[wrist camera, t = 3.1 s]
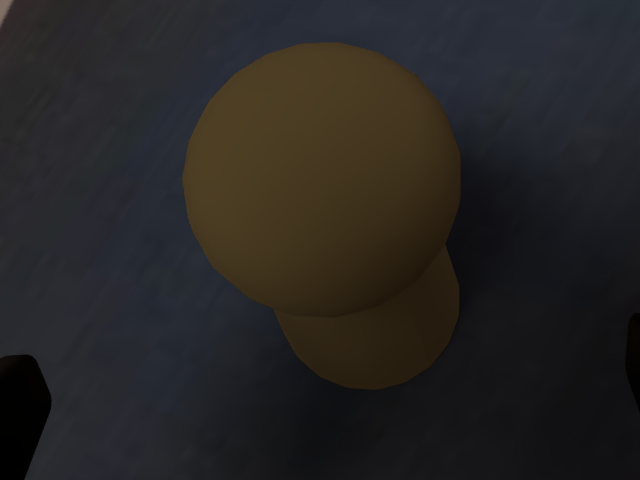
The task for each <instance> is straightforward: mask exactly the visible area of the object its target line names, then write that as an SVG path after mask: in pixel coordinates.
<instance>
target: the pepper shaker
mask: <svg viewBox="0 0 640 480" xmlns="http://www.w3.org/2000/svg"><path fill="white" fill-rule="evenodd" d="M182 184H183V189H184V195H185V201H186V207H187V213H188V219H189V222H190V225H191V228H192V231H193V233H194V235H195V237H196V239H197V241H198V242H199V244H200V246H201V248H202V249H203V251H204V253H205V255H206V256H207V258H208V260H209V262H210V264H211V265H212V267H213V268H215V269H216V270H217V271H218V272H219V273H220V274H222V275H223V276H224V277H225V278H226V279H227V280H229V281H230V282H231V283H232V284H233V285H234V286H236V287H237V288H238V289H239V290H240V291H241V292H243V293H244V294H245V295H246V296H248V297H249V298H250V299H251V300H253V301H255V302H258V303H260V304H263V305H265V306H268V307H271V308H273V310H274V312H275V314H276V317H277V319H278V321H279V324H280V326H281V328H282V331H283V333H284V335H285V337H286V338H287V340H288V342H289V343H290V345H291V347H292V348H293V350H294V352H295V354H296V355H297V357H298V358H299V359H300V360H301V361H302V362H303V363H304V364H306V365H307V366H308V367H309V368H310V369H311V370H312V371H314V372H315V373H316V374H317V375H318V376H319V377H321V378H324V379H326V380H329V381H331V382H334V383H336V384H338V385H341V386H343V387H346V388H355V389H369V390H379V389H382V388H386V387H390V386H394V385H398V384H402V383H405V382H407V381H409V380H410V379H412V378H413V377H415V376H416V375H418V374H419V373H421V372H423V371H424V370H426V369H427V368H429V367H430V366H431V365H432V364H433V363H434V362H435V360H436V359H437V358H438V356H439V355H440V354H441V353H442V351H443V350H444V349H445V348H446V346H447V345H448V344H449V342H450V339H451V337H452V334H453V331H454V328H455V325H456V322H457V320H458V317H459V284H458V281H457V278H456V275H455V272H454V269H453V266H452V263H451V260H450V257H449V254H448V251H447V248H446V245H445V244H446V241H447V238H448V235H449V233H450V230H451V227H452V225H453V222H454V219H455V216H456V214H457V211H458V208H459V202H460V187H461V154H460V151H459V149H458V146H457V143H456V140H455V138H454V135H453V132H452V129H451V126H450V124H449V121H448V118H447V116H446V114H445V112H444V109H443V107H442V105H441V104H440V103H439V101H438V100H437V99H436V98H435V97H434V95H433V94H432V93H431V92H430V91H429V89H428V88H427V87H426V86H425V85H424V83H423V82H422V81H421V80H420V79H419V77H418V76H417V75H416V74H414V73H412V72H411V71H409V70H407V69H406V68H404V67H402V66H401V65H399V64H397V63H396V62H394V61H392V60H391V59H389V58H387V57H386V56H384V55H382V54H380V53H377V52H375V51H372V50H368V49H364V48H359V47H355V46H351V45H347V44H343V43H339V42H333V43H306V44H299V45H295V46H292V47H289V48H286V49H282V50H279V51H276V52H273V53H269V54H266V55H264V56H263V57H261V58H260V59H258V60H256V61H255V62H253V63H251V64H250V65H248V66H247V67H245V68H243V69H242V70H240V71H239V72H237V73H235V74H234V75H233V76H232V77H231V78H230V79H229V80H228V81H227V82H226V83H225V85H224V86H223V87H222V88H221V89H220V90H219V91H218V92H217V93H216V94H215V95H214V96H213V97H212V98H211V100H210V101H209V102H208V104H207V106H206V108H205V110H204V112H203V114H202V116H201V118H200V120H199V122H198V124H197V126H196V128H195V130H194V132H193V134H192V136H191V138H190V141H189V143H188V148H187V154H186V160H185V166H184V172H183V178H182Z"/></svg>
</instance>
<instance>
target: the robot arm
mask: <svg viewBox="0 0 640 480" xmlns="http://www.w3.org/2000/svg"><path fill="white" fill-rule="evenodd" d="M625 366H626V374H627V378H628V381H629V384H630V386H631V389H632V392H633V395H634V397H635V400H636V403H637V406H638V409H639V411H640V313H634V314H633V315H632V316H631V318H630V320H629V325H628V336H627V348H626V359H625ZM50 410H51V394H50V391H49V389H48V387H47V384H46V382H45V380H44V377H43V375H42V372H41V370H40V368H39V365H38V363H37V361H36V359H35V358H34V357H32V356H30V355H11V356H5V357H2V358H0V480H24V479H25V476H26V474H27V471H28V469H29V466H30V463H31V461H32V458H33V455H34V453H35V450H36V447H37V445H38V442H39V439H40V437H41V434H42V431H43V429H44V426H45V424H46V421H47V418H48V416H49V413H50Z"/></svg>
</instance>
